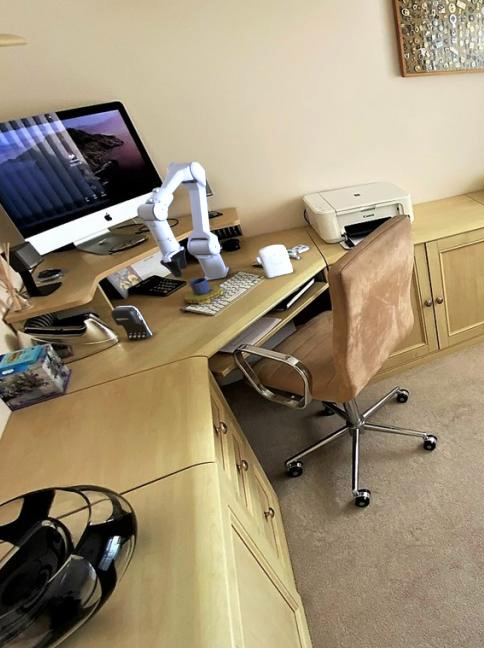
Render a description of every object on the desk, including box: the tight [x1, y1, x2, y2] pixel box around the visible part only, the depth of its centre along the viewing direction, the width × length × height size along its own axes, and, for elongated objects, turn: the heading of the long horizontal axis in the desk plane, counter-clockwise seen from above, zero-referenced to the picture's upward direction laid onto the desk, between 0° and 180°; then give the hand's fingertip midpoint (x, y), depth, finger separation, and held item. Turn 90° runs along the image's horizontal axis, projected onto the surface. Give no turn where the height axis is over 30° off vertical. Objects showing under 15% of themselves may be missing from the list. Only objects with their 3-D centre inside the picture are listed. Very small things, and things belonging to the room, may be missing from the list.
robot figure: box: [255, 244, 310, 266], centre depth 189 cm, size 16×3×22 cm
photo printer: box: [258, 244, 294, 279], centre depth 171 cm, size 10×4×12 cm, turn 123°
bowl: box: [188, 277, 211, 295], centre depth 158 cm, size 6×6×4 cm
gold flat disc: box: [183, 283, 224, 305], centre depth 160 cm, size 12×12×2 cm
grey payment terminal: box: [110, 305, 154, 341], centre depth 135 cm, size 7×4×11 cm, turn 92°
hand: (181, 272), depth 157 cm, fingers open, 7 cm apart
